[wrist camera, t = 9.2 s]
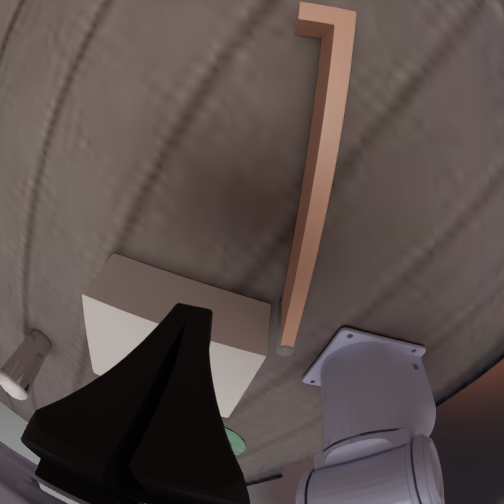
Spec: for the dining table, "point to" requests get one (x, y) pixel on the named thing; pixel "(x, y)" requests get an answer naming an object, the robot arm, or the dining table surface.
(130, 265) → the camera case
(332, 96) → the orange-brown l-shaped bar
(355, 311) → the dining table surface
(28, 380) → the milkshake
